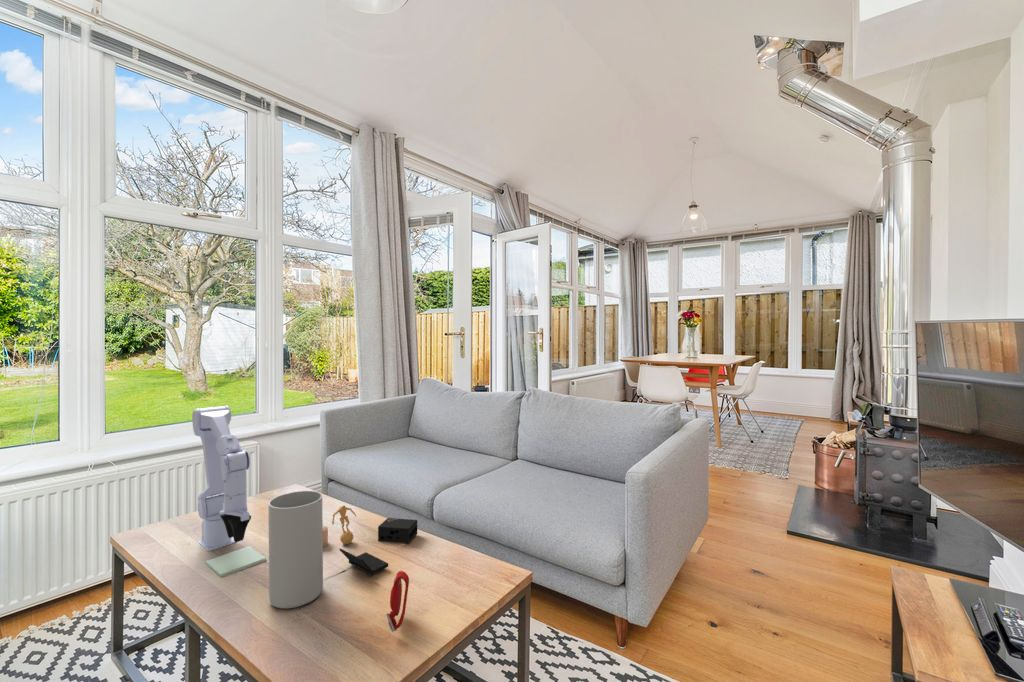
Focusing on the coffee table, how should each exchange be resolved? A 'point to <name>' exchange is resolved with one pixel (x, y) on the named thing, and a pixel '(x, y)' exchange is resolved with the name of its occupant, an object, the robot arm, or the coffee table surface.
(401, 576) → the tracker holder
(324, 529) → the pink rounded capsule
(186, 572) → the coffee table surface
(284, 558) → the cylinder vase
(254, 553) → the sage board
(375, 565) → the black angular piece
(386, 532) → the electronic device
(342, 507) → the figurine
